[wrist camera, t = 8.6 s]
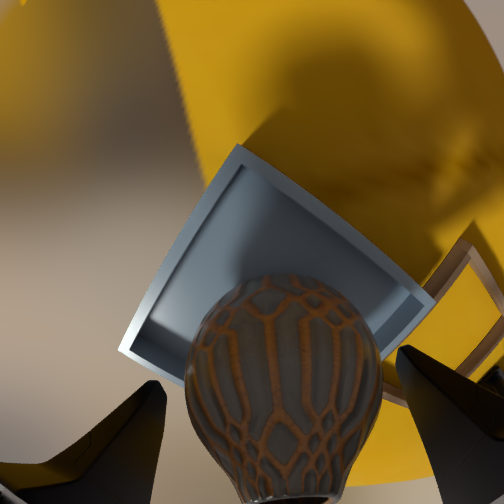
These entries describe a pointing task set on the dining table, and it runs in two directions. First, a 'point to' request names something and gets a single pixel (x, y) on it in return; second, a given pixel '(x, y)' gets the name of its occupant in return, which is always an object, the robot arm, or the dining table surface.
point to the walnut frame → (437, 289)
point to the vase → (284, 388)
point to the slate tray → (264, 263)
